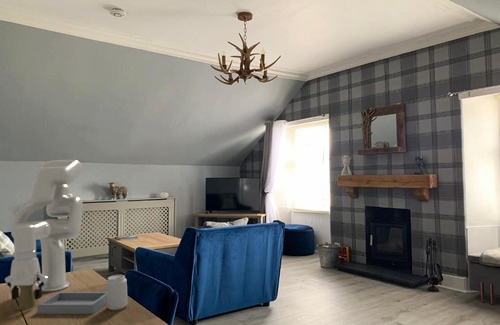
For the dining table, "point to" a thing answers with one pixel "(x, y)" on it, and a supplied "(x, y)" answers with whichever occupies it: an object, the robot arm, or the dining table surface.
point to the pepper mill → (26, 298)
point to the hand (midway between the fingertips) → (26, 298)
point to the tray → (73, 303)
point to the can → (116, 292)
